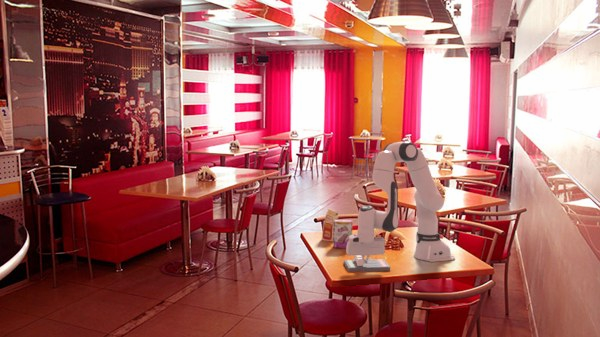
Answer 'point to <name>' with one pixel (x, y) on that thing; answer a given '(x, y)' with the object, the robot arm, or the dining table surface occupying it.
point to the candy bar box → (342, 233)
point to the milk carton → (329, 225)
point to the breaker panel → (367, 265)
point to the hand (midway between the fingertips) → (365, 262)
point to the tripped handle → (360, 261)
